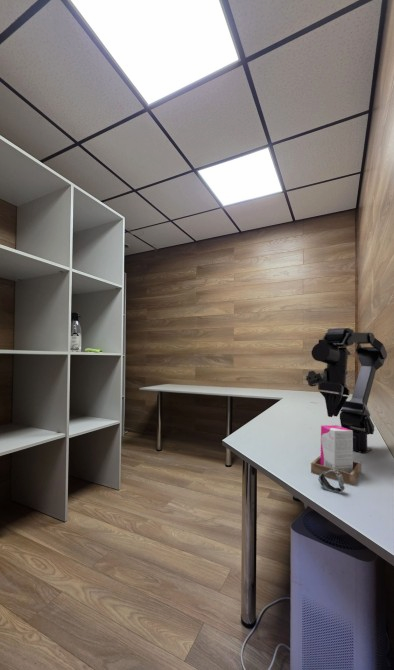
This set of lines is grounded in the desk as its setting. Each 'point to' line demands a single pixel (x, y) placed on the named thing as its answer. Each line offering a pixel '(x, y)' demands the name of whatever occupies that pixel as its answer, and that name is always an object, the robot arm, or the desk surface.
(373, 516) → the desk surface
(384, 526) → the desk surface
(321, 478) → the wristwatch
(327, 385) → the robot arm
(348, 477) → the square wooden tray
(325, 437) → the supplement box
